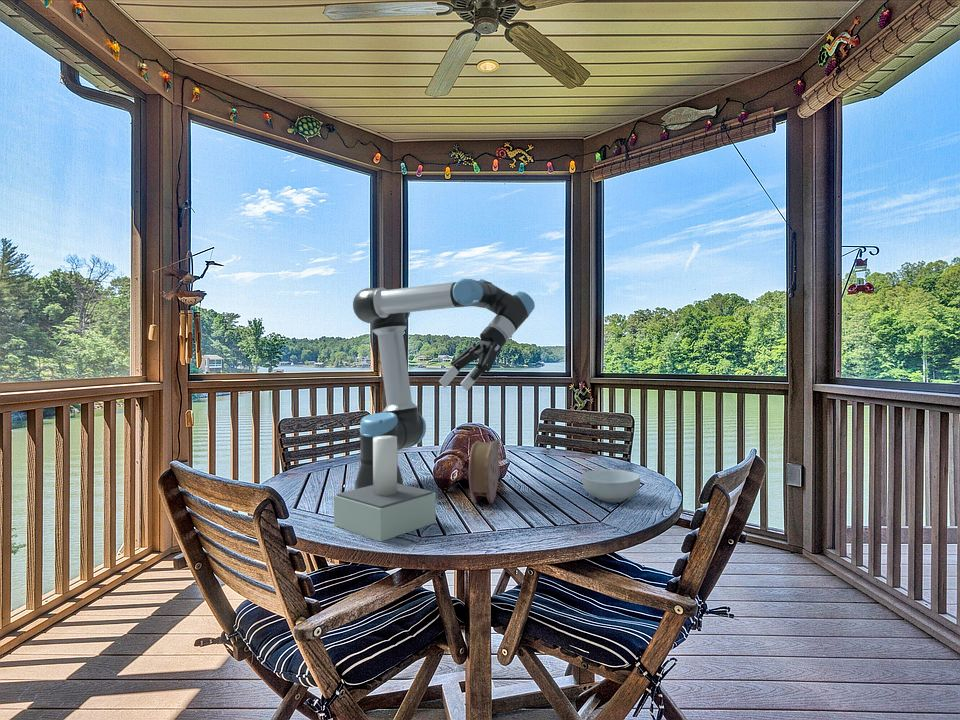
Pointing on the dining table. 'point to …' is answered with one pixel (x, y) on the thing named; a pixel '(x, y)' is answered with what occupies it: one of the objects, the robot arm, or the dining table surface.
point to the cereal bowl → (611, 484)
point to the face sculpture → (484, 470)
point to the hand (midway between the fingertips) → (452, 386)
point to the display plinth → (384, 511)
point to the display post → (384, 465)
